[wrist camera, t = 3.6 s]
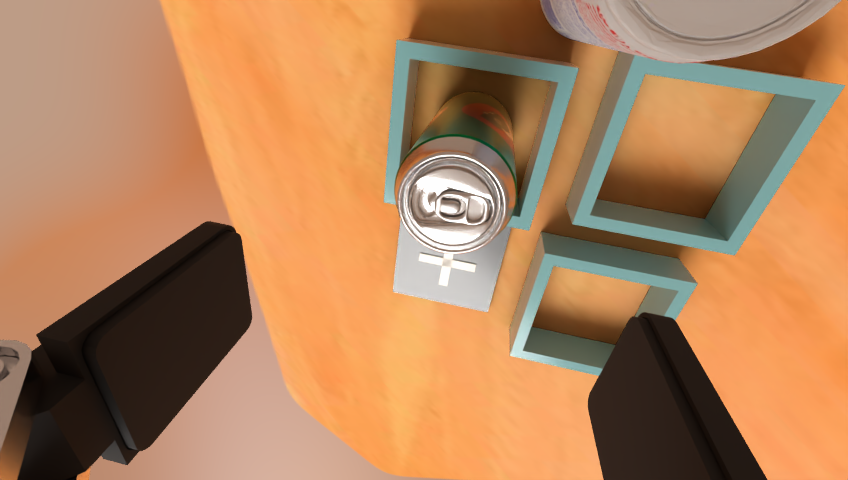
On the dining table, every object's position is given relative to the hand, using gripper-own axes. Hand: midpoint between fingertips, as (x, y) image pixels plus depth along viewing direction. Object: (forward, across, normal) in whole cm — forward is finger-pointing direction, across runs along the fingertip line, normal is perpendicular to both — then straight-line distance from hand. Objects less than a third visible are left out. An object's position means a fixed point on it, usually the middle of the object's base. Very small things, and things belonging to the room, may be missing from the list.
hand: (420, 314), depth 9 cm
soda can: (+18, 0, 0) cm, 18 cm away
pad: (+18, 0, +10) cm, 21 cm away
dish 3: (+18, -12, -1) cm, 22 cm away
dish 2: (+18, -11, +11) cm, 24 cm away
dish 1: (+18, 0, 0) cm, 18 cm away
